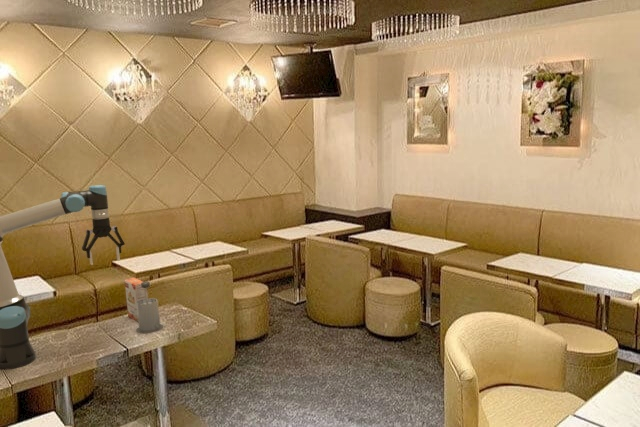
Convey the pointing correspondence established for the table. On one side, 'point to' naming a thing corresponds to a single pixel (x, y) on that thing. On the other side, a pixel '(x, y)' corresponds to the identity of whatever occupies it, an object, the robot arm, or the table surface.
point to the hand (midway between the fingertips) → (105, 262)
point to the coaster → (149, 332)
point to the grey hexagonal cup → (148, 315)
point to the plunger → (146, 285)
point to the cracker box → (133, 296)
